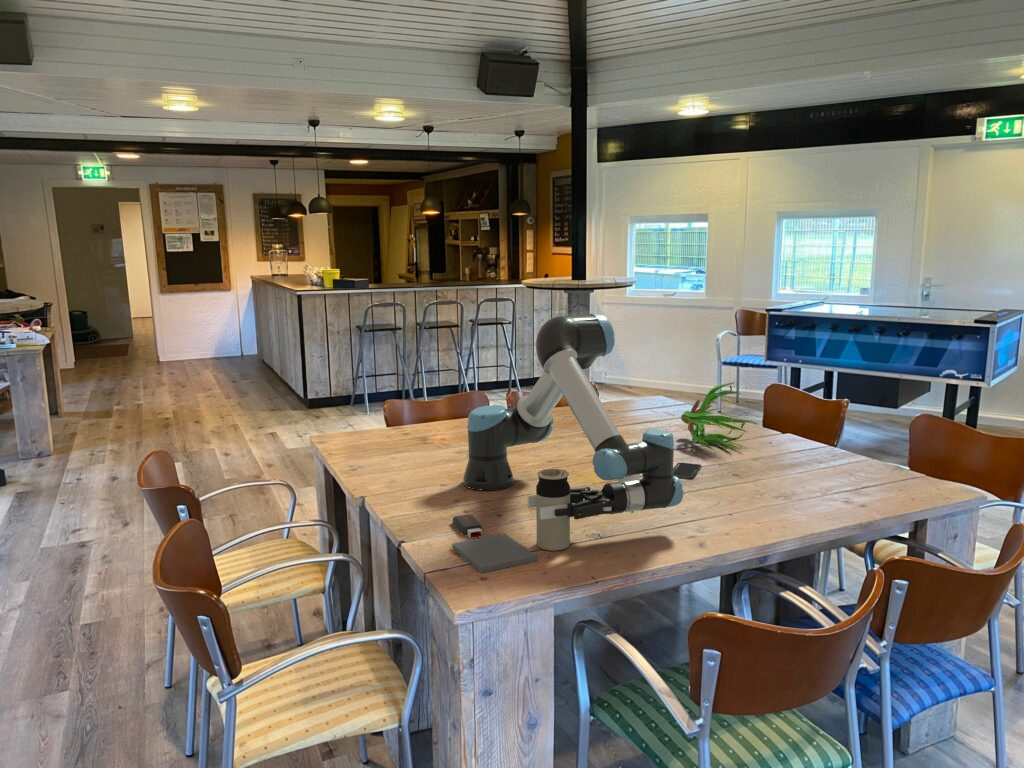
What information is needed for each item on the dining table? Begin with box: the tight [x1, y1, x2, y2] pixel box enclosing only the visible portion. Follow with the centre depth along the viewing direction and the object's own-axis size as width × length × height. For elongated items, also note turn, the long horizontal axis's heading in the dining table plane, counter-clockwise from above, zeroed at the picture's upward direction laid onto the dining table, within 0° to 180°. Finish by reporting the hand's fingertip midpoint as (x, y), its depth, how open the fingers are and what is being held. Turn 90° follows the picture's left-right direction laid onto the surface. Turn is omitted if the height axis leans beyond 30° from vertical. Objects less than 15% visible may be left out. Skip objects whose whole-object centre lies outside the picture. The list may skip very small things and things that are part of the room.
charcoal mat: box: [452, 532, 538, 574], centre depth 176 cm, size 16×14×1 cm
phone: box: [673, 462, 703, 480], centre depth 240 cm, size 8×1×15 cm
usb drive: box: [452, 513, 484, 539], centre depth 192 cm, size 5×12×3 cm, turn 21°
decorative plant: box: [680, 382, 754, 453], centre depth 271 cm, size 26×25×30 cm
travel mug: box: [535, 468, 571, 552], centre depth 180 cm, size 8×8×18 cm
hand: (534, 507), depth 178 cm, fingers closed on travel mug, 8 cm apart
